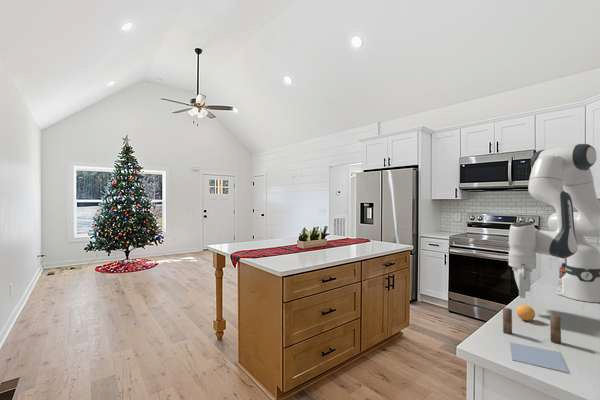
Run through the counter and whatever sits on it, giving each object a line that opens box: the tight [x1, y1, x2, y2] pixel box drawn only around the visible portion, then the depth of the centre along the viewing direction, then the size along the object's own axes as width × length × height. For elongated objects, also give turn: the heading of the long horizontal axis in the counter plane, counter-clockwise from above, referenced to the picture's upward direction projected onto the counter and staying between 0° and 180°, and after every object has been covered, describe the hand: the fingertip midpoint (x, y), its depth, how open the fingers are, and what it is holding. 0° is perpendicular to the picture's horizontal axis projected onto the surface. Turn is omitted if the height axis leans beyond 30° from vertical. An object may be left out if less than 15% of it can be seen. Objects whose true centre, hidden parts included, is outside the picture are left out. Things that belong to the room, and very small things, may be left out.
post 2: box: [549, 314, 562, 345], centre depth 93 cm, size 2×2×8 cm
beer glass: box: [557, 257, 567, 268], centre depth 164 cm, size 7×7×15 cm
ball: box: [516, 304, 536, 322], centre depth 110 cm, size 6×6×6 cm
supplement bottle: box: [558, 263, 567, 285], centre depth 153 cm, size 6×6×11 cm
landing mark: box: [509, 341, 570, 374], centre depth 85 cm, size 12×12×1 cm
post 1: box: [502, 307, 513, 335], centre depth 100 cm, size 2×2×8 cm
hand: (522, 297), depth 118 cm, fingers closed
